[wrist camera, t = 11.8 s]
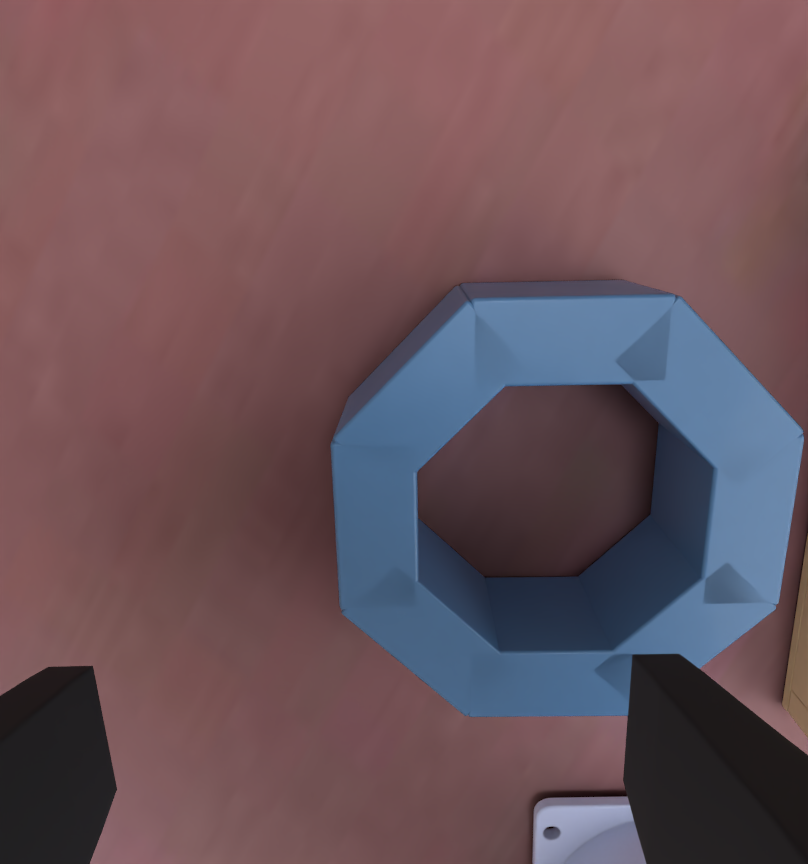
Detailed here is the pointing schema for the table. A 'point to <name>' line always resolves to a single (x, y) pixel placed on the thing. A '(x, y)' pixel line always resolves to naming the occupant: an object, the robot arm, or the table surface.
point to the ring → (621, 565)
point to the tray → (799, 658)
